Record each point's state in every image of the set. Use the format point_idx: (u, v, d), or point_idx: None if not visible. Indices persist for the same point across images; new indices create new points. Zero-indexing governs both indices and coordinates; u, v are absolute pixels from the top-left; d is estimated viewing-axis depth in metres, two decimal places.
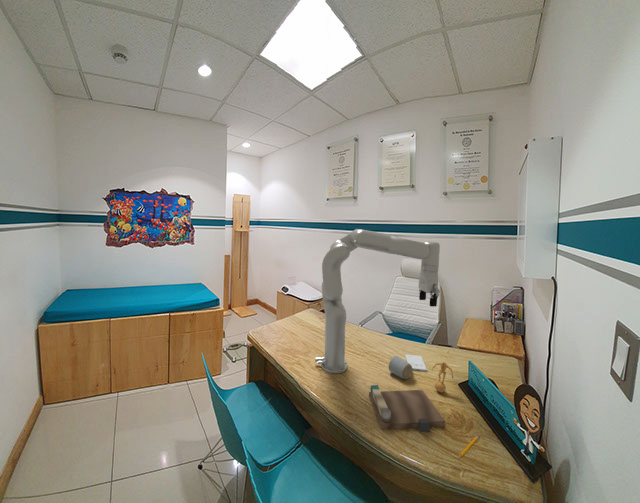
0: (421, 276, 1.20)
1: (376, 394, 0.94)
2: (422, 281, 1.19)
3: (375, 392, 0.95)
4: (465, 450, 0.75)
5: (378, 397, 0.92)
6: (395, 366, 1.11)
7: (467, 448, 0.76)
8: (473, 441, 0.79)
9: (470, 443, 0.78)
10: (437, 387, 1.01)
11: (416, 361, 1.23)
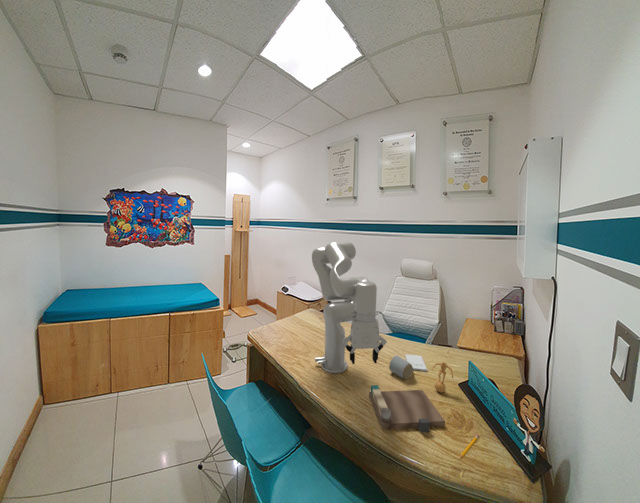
0: (360, 331, 0.88)
1: (376, 394, 0.94)
2: (364, 336, 0.88)
3: (375, 392, 0.95)
4: (466, 450, 0.75)
5: (378, 397, 0.92)
6: (395, 366, 1.11)
7: (467, 448, 0.76)
8: (473, 441, 0.79)
9: (470, 443, 0.78)
10: (437, 387, 1.01)
11: (416, 361, 1.24)
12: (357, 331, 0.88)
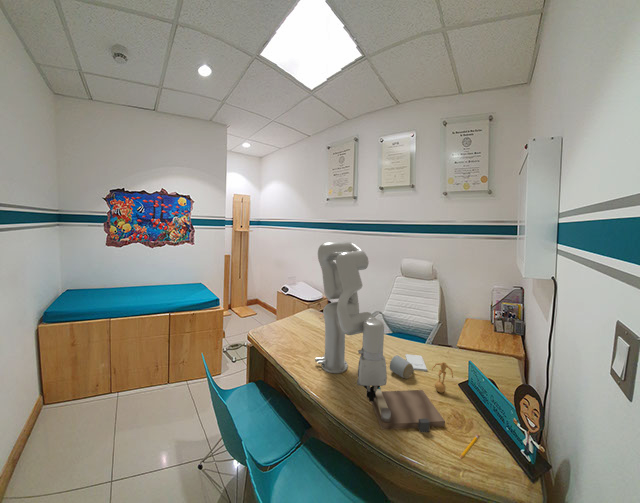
0: (367, 368, 0.89)
1: (377, 394, 0.94)
2: (371, 374, 0.90)
3: (376, 392, 0.95)
4: (466, 450, 0.75)
5: (379, 397, 0.92)
6: (395, 366, 1.12)
7: (468, 448, 0.76)
8: (473, 441, 0.79)
9: (470, 443, 0.78)
10: (437, 387, 1.01)
11: (416, 360, 1.24)
12: (364, 369, 0.90)
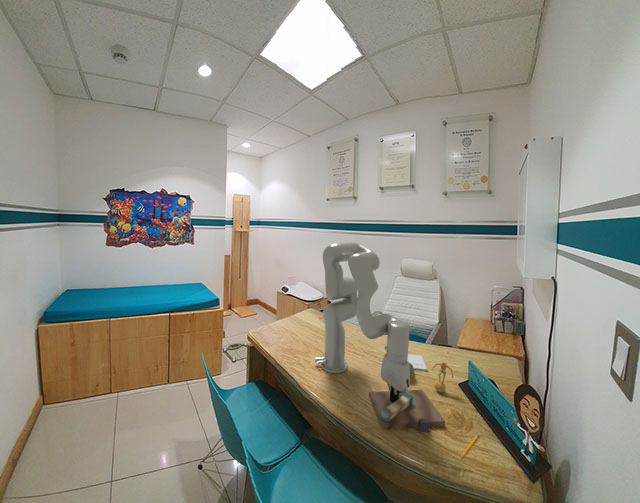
0: (386, 366, 0.91)
1: (400, 400, 0.91)
2: (389, 373, 0.91)
3: (401, 398, 0.91)
4: (466, 451, 0.75)
5: (397, 402, 0.90)
6: None
7: (468, 449, 0.76)
8: (473, 441, 0.79)
9: (470, 443, 0.78)
10: (437, 387, 1.01)
11: (416, 360, 1.24)
12: (384, 364, 0.92)
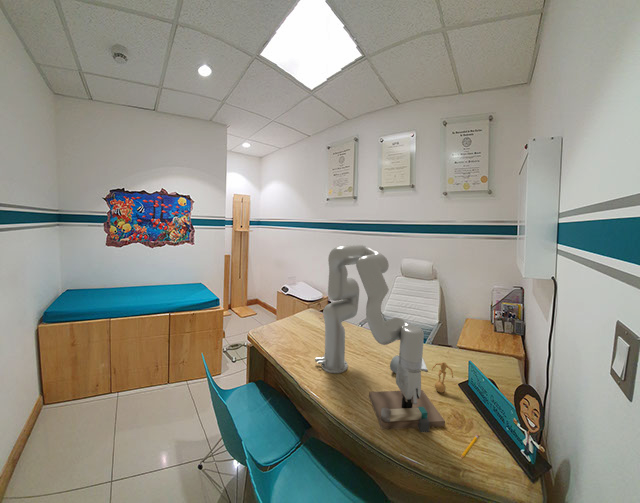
0: (399, 370, 0.89)
1: (410, 409, 0.86)
2: (400, 378, 0.88)
3: (413, 409, 0.86)
4: (466, 451, 0.75)
5: (406, 410, 0.86)
6: (396, 366, 1.12)
7: (468, 449, 0.76)
8: (473, 441, 0.79)
9: (470, 443, 0.78)
10: (437, 387, 1.01)
11: None
12: (398, 368, 0.90)
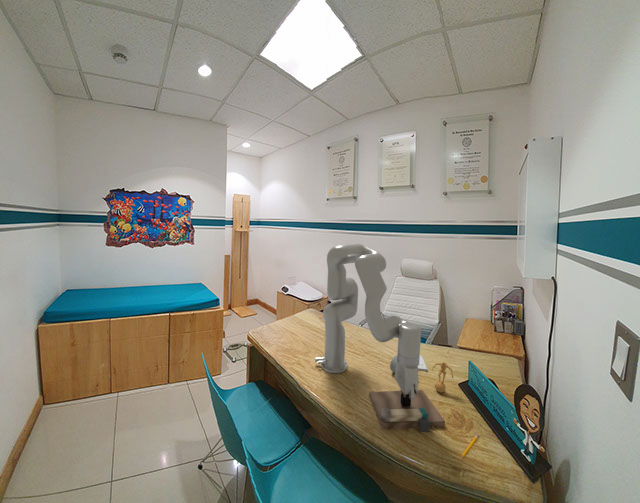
0: (397, 366, 0.92)
1: (411, 410, 0.86)
2: (398, 374, 0.91)
3: (414, 410, 0.86)
4: (466, 451, 0.75)
5: (406, 411, 0.85)
6: None
7: (468, 449, 0.76)
8: (473, 441, 0.79)
9: (470, 443, 0.78)
10: (437, 387, 1.01)
11: None
12: (397, 365, 0.93)
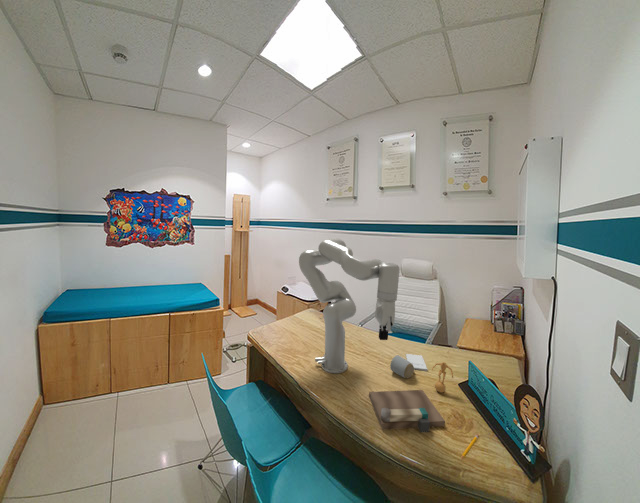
0: (377, 303, 0.99)
1: (411, 410, 0.86)
2: (378, 310, 0.98)
3: (414, 410, 0.86)
4: (466, 451, 0.75)
5: (406, 411, 0.85)
6: (396, 365, 1.12)
7: (468, 449, 0.76)
8: (473, 441, 0.79)
9: (470, 443, 0.78)
10: (437, 387, 1.01)
11: (416, 360, 1.24)
12: (376, 303, 1.00)
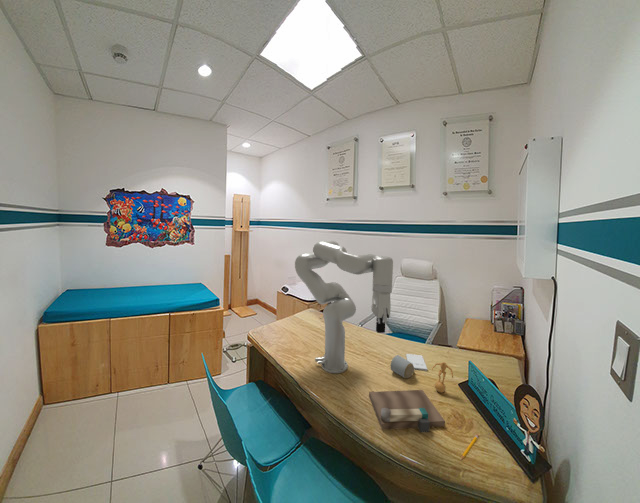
0: (373, 297, 1.01)
1: (411, 410, 0.86)
2: (374, 303, 1.00)
3: (414, 410, 0.86)
4: (466, 451, 0.75)
5: (406, 411, 0.85)
6: (396, 365, 1.12)
7: (468, 449, 0.76)
8: (473, 441, 0.79)
9: (471, 443, 0.78)
10: (437, 387, 1.01)
11: (416, 360, 1.24)
12: None
